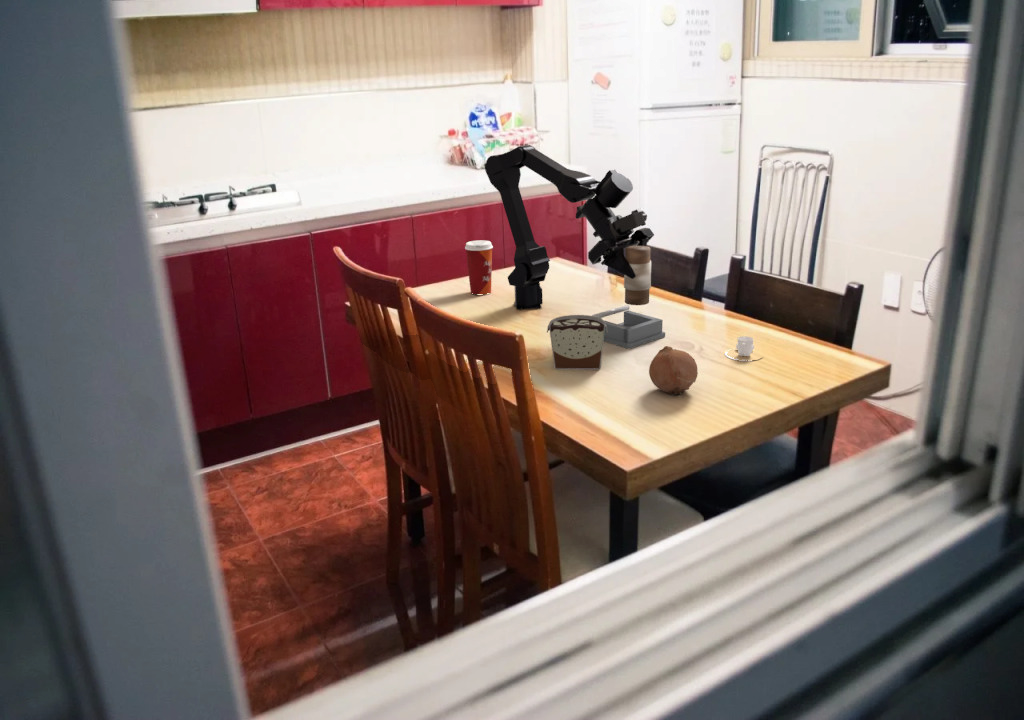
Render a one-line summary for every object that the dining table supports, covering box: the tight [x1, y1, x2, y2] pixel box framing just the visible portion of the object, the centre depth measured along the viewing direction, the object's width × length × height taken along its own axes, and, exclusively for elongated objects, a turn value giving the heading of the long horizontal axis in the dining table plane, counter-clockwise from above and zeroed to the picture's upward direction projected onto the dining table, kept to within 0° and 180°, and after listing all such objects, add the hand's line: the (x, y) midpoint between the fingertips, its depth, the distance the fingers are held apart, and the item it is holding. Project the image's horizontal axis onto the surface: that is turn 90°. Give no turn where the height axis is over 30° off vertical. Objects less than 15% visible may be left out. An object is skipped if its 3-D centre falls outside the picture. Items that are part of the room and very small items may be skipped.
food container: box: [546, 314, 608, 371], centre depth 172 cm, size 12×6×10 cm, turn 84°
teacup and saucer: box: [724, 335, 755, 362], centre depth 175 cm, size 9×8×4 cm
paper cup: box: [464, 239, 494, 294], centre depth 227 cm, size 8×8×14 cm
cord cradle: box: [591, 304, 666, 350], centre depth 188 cm, size 12×12×5 cm
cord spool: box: [623, 246, 652, 306], centre depth 189 cm, size 6×6×12 cm
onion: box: [648, 345, 699, 395], centre depth 157 cm, size 9×9×10 cm
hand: (642, 274), depth 188 cm, fingers closed on cord spool, 6 cm apart
